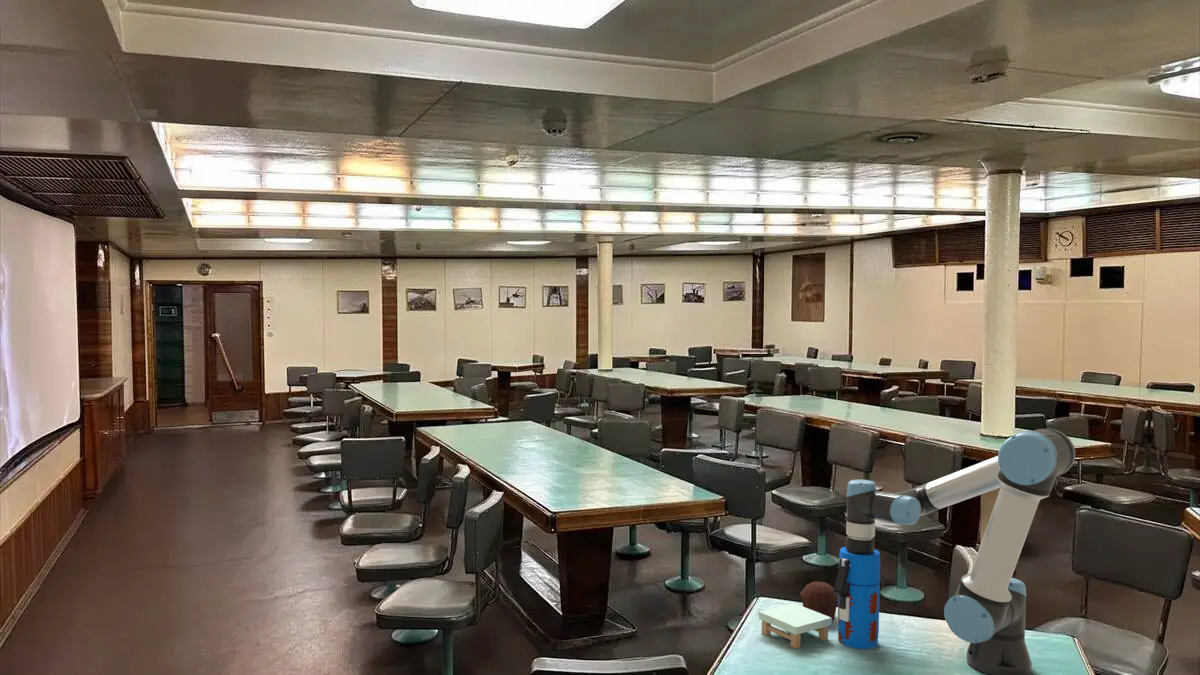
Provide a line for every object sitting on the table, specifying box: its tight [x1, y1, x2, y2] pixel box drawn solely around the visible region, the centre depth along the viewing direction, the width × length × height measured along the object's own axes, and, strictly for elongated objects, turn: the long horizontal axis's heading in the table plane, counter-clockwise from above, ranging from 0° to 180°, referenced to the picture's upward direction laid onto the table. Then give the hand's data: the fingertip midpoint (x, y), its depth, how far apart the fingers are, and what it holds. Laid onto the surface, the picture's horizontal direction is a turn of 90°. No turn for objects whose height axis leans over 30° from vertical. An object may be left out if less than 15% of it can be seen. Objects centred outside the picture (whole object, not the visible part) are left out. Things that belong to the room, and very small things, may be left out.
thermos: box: [837, 546, 881, 650], centre depth 229 cm, size 11×11×25 cm
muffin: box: [799, 581, 838, 621], centre depth 249 cm, size 12×11×10 cm
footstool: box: [758, 602, 833, 649], centre depth 233 cm, size 14×14×6 cm
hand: (858, 616), depth 229 cm, fingers closed on thermos, 11 cm apart
